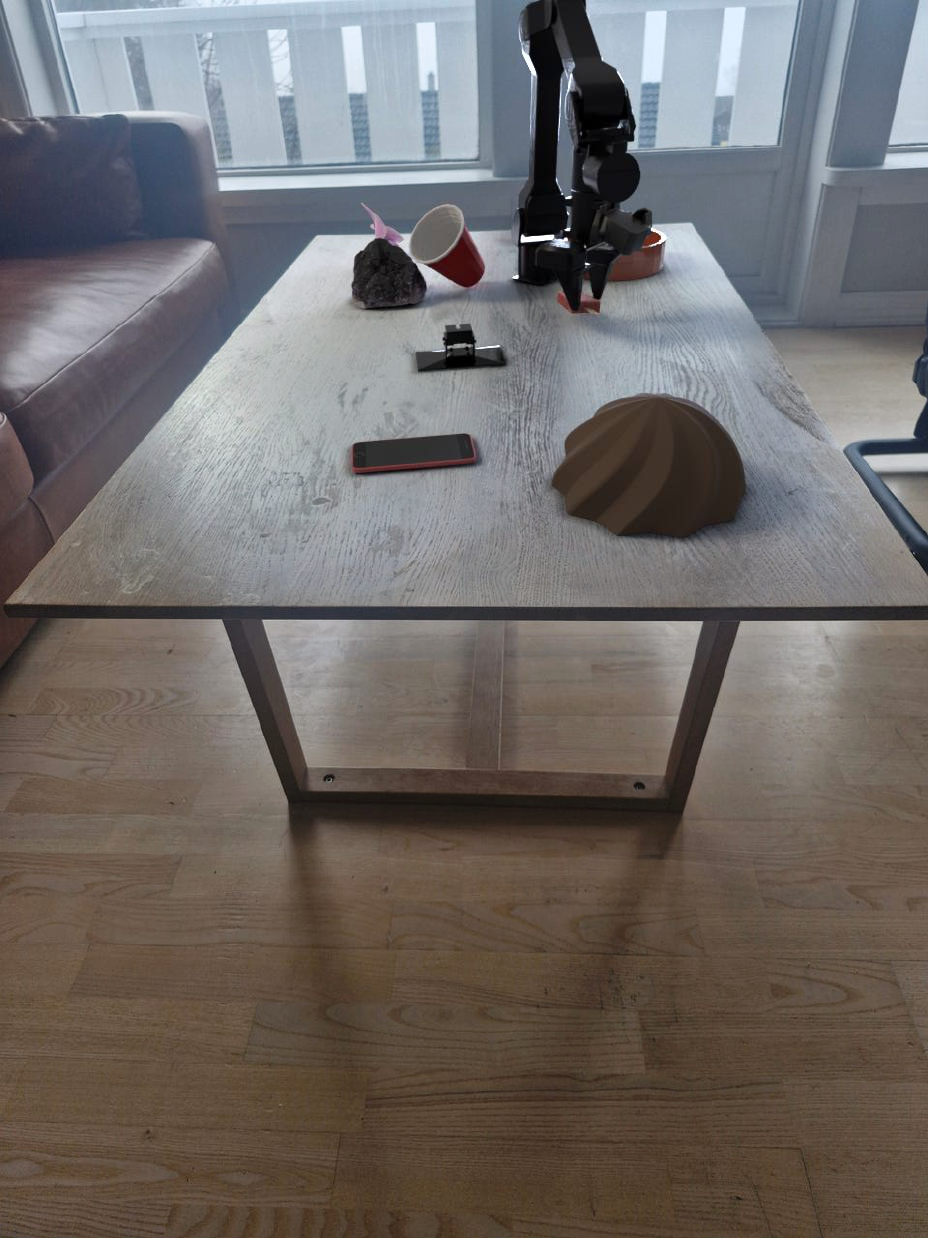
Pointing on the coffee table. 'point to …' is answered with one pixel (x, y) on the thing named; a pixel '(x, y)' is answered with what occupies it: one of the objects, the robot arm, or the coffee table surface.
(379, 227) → the lily
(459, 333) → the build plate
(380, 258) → the crystal cluster
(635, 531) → the decorative dome
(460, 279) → the plastic cup
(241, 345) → the coffee table surface
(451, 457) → the smartphone
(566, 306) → the popsicle
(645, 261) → the bowl
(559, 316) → the coffee table surface
